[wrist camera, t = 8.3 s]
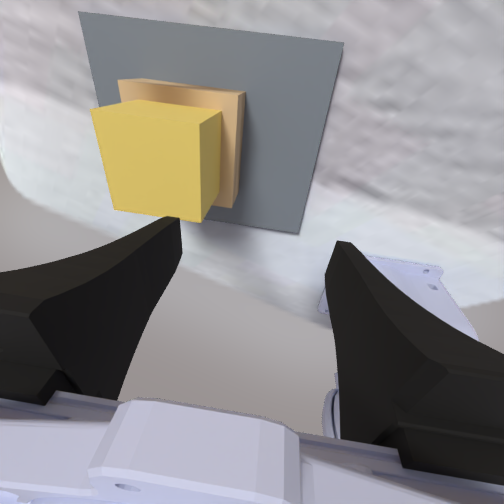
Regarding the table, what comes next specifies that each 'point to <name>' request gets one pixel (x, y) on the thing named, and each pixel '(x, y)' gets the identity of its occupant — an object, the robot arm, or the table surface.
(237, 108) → the oak block
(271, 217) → the board
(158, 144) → the yellow block
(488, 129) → the table surface
